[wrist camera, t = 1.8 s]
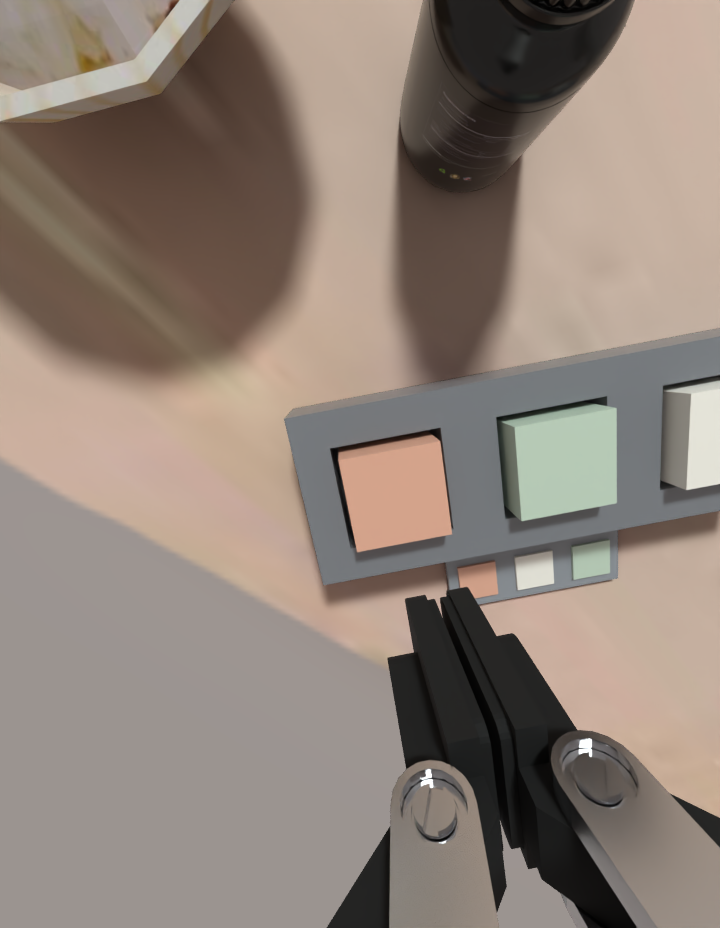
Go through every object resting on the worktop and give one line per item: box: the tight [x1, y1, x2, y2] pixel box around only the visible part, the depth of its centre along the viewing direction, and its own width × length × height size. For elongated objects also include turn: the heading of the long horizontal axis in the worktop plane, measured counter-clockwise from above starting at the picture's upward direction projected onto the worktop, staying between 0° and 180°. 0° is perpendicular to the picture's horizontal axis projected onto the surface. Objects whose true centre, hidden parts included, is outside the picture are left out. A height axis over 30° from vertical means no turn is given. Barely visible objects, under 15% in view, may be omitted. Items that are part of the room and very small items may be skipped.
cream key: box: [660, 375, 720, 490], centre depth 22 cm, size 5×5×3 cm
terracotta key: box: [338, 431, 452, 552], centre depth 22 cm, size 5×5×3 cm
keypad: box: [284, 328, 720, 585], centre depth 23 cm, size 28×10×4 cm, turn 100°
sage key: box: [496, 402, 617, 521], centre depth 22 cm, size 5×5×3 cm
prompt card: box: [445, 530, 618, 605], centre depth 27 cm, size 12×4×1 cm, turn 100°
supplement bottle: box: [400, 0, 635, 192], centre depth 15 cm, size 7×7×12 cm
